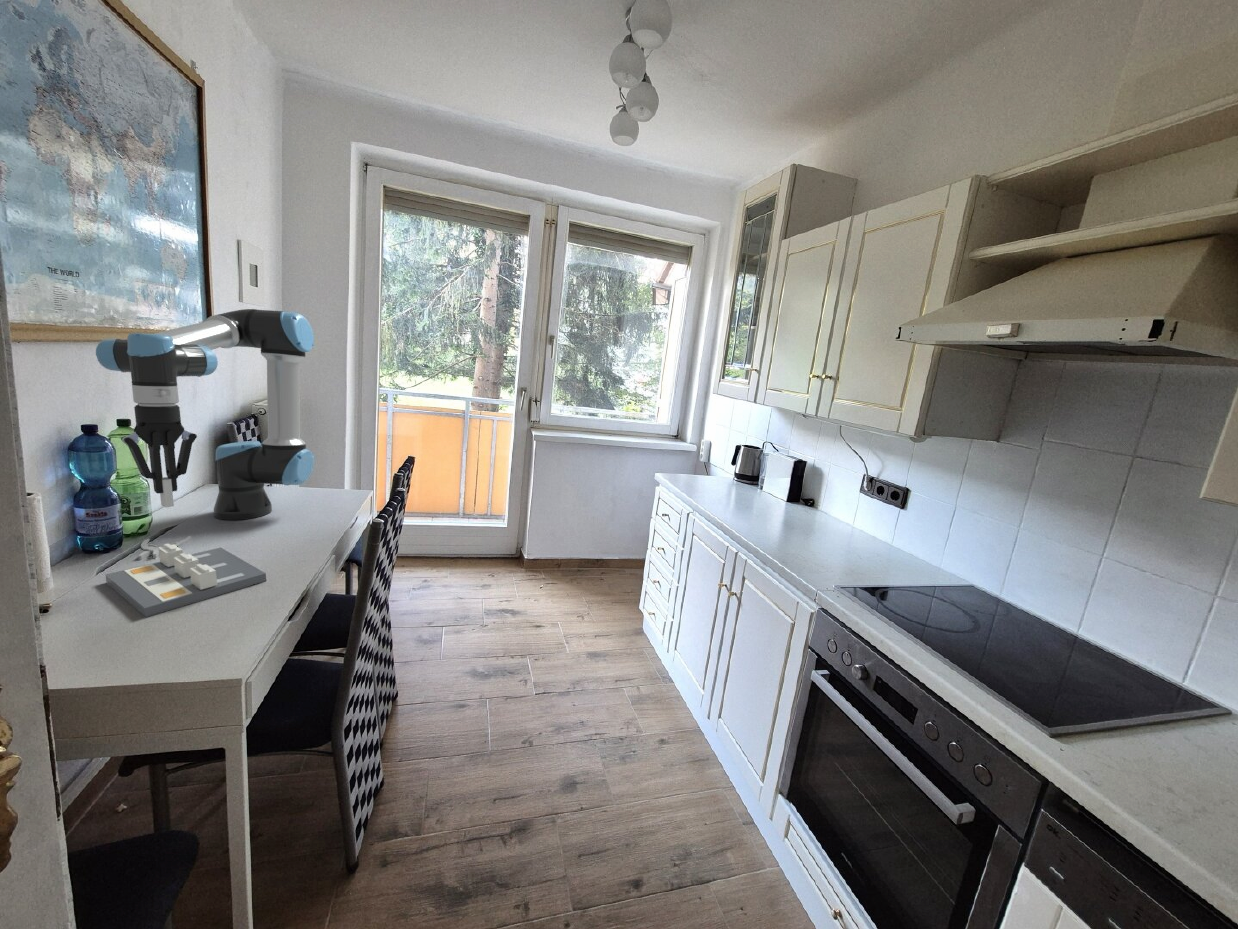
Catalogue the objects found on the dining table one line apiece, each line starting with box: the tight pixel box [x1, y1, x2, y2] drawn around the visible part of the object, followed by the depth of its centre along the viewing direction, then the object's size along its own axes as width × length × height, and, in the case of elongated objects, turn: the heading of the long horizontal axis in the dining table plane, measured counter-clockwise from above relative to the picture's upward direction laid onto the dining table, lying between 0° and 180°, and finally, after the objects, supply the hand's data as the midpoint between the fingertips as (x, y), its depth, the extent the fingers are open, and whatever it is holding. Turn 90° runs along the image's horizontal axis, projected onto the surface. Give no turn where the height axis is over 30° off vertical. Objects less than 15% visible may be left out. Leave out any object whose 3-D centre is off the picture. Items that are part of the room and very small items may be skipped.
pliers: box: [138, 535, 192, 561], centre depth 134 cm, size 10×2×15 cm
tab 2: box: [174, 552, 199, 578], centre depth 117 cm, size 3×5×4 cm, turn 58°
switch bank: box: [105, 547, 267, 618], centre depth 118 cm, size 22×24×2 cm
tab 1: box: [158, 543, 184, 567], centre depth 121 cm, size 3×5×4 cm, turn 58°
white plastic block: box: [190, 564, 217, 590], centre depth 112 cm, size 3×5×4 cm, turn 58°
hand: (167, 505), depth 117 cm, fingers closed
